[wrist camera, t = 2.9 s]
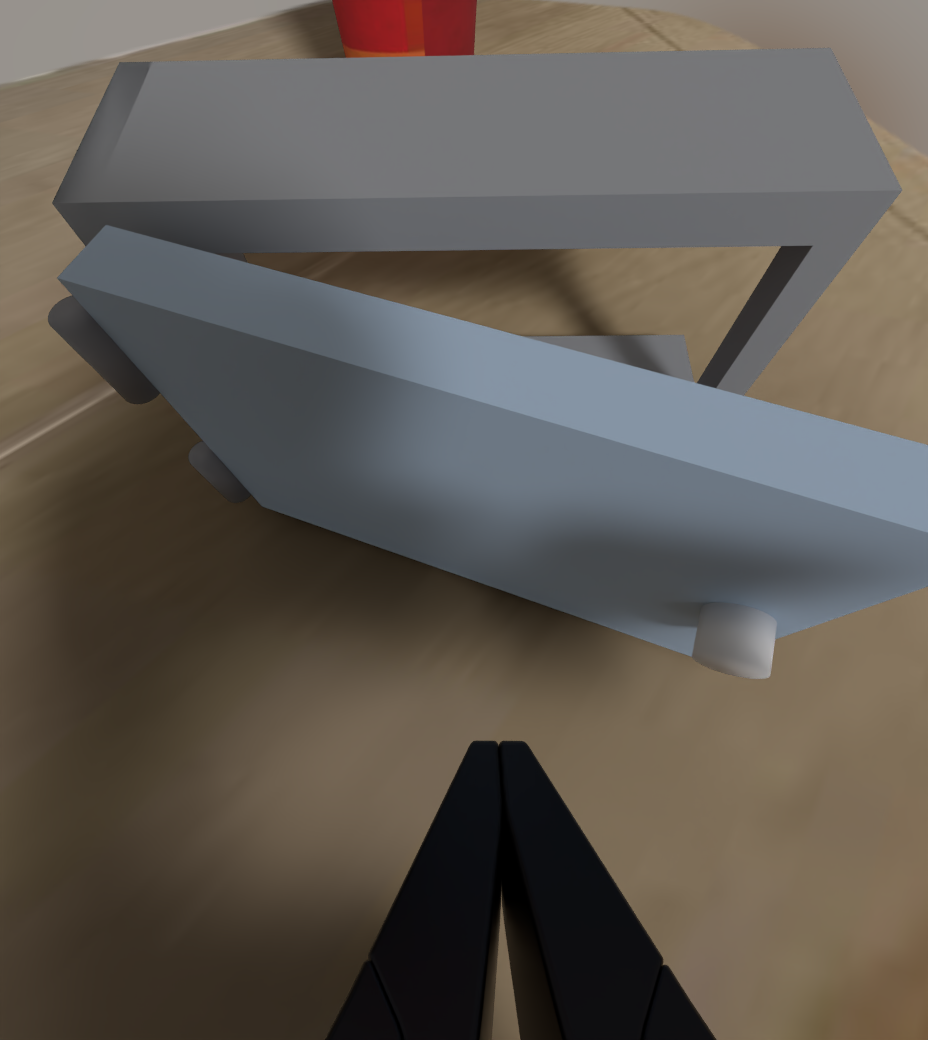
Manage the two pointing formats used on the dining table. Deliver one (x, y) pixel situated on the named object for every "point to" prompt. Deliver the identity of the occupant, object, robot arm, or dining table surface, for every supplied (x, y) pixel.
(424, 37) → the coffee cup
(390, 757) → the dining table surface
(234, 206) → the cabinet
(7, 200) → the dining table surface
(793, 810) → the dining table surface
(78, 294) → the door
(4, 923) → the dining table surface
